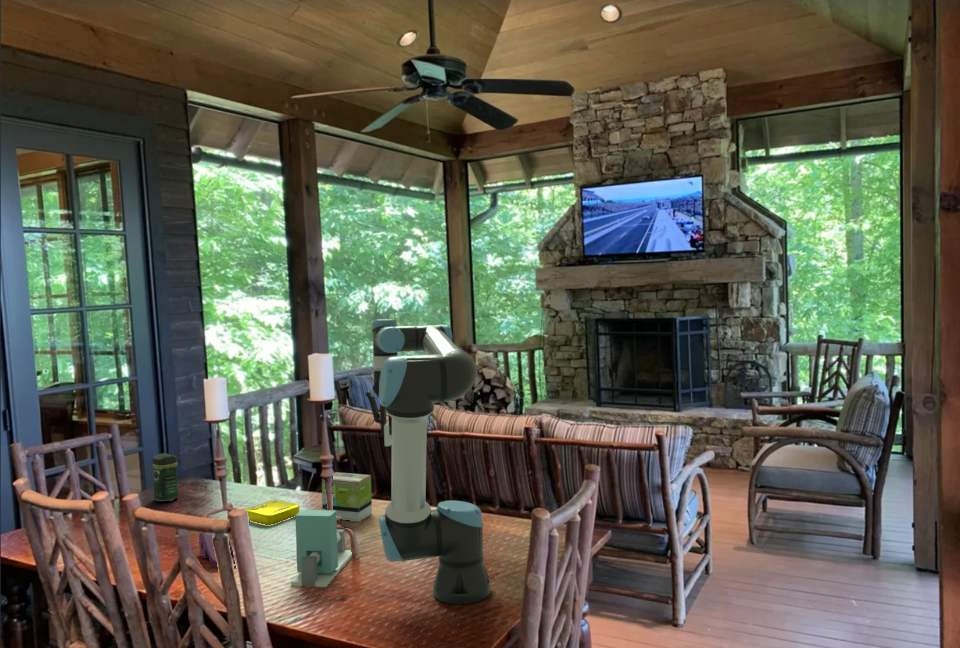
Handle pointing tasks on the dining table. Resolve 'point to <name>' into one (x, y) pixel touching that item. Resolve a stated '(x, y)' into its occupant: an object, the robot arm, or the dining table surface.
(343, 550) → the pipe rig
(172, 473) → the coffee jar
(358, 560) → the dining table surface
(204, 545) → the mounting bracket
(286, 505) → the element tile
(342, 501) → the tea box
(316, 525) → the sleeve
